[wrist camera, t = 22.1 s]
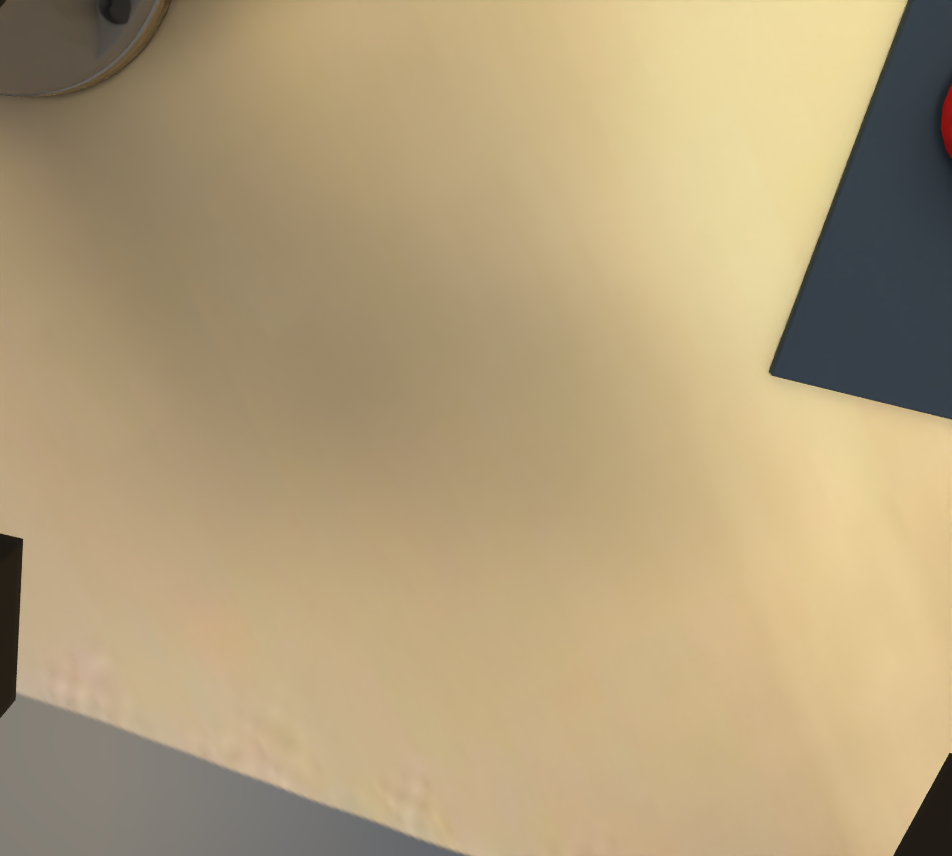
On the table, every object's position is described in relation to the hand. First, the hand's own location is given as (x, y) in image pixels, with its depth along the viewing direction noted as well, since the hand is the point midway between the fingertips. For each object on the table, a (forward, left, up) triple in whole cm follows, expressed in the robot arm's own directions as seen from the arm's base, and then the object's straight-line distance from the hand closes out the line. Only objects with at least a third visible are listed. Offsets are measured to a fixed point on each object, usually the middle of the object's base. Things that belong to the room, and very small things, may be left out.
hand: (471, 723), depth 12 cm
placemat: (-2, +21, -33) cm, 39 cm away
